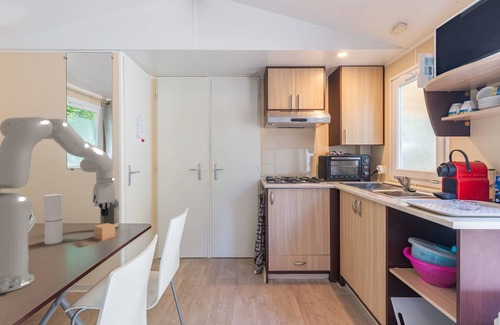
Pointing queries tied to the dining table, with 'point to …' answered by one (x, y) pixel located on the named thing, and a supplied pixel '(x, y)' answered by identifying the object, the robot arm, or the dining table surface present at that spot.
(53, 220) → the cylindrical container
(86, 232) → the dining table surface
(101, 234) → the orange block
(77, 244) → the board
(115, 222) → the liquor
